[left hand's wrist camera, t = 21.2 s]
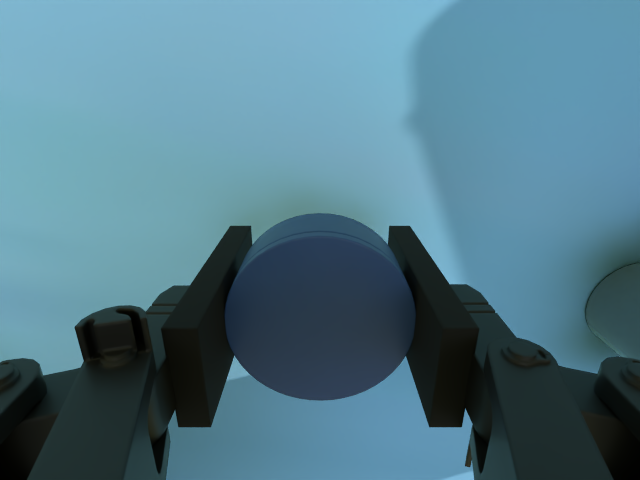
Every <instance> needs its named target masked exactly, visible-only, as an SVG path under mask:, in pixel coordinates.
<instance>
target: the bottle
mask: <svg viewBox="0 0 640 480" xmlns="http://www.w3.org/2000/svg"><path fill="white" fill-rule="evenodd" d="M586 320H587V323H588V326H589V328H590V329H591V331H592V332H593V333H594V334H595V335H596V336H597V337H598V338H600V339H601V340H602V341H603V342H604V343H605V344H607V345H608V346H609V347H610V348H611V349H612V350H614V351H615V352H616V353H617V354H618V355H620V356H621V357H625V358H633V359H638V360H640V263H636V264H632V265H628V266H625V267H623V268H621V269H618V270H616V271H615V272H613V273H611V274H610V275H609V276H607V277H606V278H605V279H604V280H603V281H601V282H600V284H599V285H598V286H597V287H596V288H595V290H594V291H593V292H592V294H591V296H590V298H589V300H588V303H587V307H586Z"/></svg>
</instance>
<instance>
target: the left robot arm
mask: <svg viewBox="0 0 640 480" xmlns="http://www.w3.org/2000/svg"><path fill="white" fill-rule="evenodd" d="M251 246H252V235H251V226H230V227H229V229H228V230H227V232H226V233H225V235H224V236H223V238H222V239H221V241H220V242H219V244H218V245H217V247H216V248H215V249H214V251H213V252H212V254H211V255H210V257H209V258H208V260H207V261H206V263H205V264H204V266H203V267H202V269H201V270H200V272H199V273H198V274H197V276H196V277H195V279H194V280H193V282H192V283H191V285H190V286H172V287H171V288H169V289H168V290H166V291H164V292H163V293H161V294H160V295H159V296H158V297H157V299H156V300H155V301H154V302H153V304H152V306H150V307H149V309H148V310H147V311H146V312H145V311H144V310H143V309H141V308H140V307H136V306H131V305H129V306H115V307H111V308H106V309H103V310H100V311H97V312H95V313H92V314H90V315H89V316H87V317H85V318H84V319H82V320H81V321H80V322H79V323H78V324H77V325H76V326H75V331H76V334H77V338H78V341H79V345H80V349H81V352H82V356H83V360H84V362H83V364H82V366H81V368H77V369H74V370H69V371H64V372H59V373H54V374H49V375H44V376H43V374H42V371H41V368H40V365H39V363H37V362H36V361H35V360H32V359H25V358H21V359H13V360H6V361H2V362H1V363H0V480H166V473H167V465H168V457H169V448H170V436H169V430H168V424H169V422H170V419H171V417H172V415H173V413H174V411H176V416H177V422H178V427H211V425H212V422H213V419H214V416H215V413H216V410H217V407H218V404H219V401H220V398H221V394H222V391H223V388H224V385H225V382H226V379H227V376H228V373H229V370H230V367H231V364H232V361H233V358H234V353H233V351H232V349H231V348H230V345H229V342H228V339H227V336H226V327H225V317H224V312H225V304H226V300H227V297H228V293H229V291H230V289H231V287H232V284H233V282H234V280H235V278H236V276H237V273H238V271H239V269H240V267H241V265H242V262H243V260H244V258H245V256H246V254H247V253H248V251H249V249H250V248H251ZM388 246H389V247H390V249H391V250H392V252H393V253H394V255H395V257H396V259H397V262H398V264H399V266H400V268H401V270H402V272H403V274H404V277H405V279H406V281H407V283H408V285H409V287H410V290H411V292H412V295H413V298H414V302H415V308H416V320H415V330H414V337H413V340H412V344H411V346H410V348H409V350H408V352H407V354H406V357H407V360H408V363H409V366H410V369H411V372H412V375H413V378H414V382H415V385H416V388H417V391H418V394H419V397H420V400H421V403H422V406H423V409H424V412H425V415H426V418H427V421H428V424H429V427H462V423H463V417H464V412H465V408H466V410H467V413H468V415H469V417H470V419H471V421H472V423H473V425H472V430H471V435H470V441H469V446H468V451H467V456H466V463H465V466H467V467H470V466H471V461H472V464H473V472H474V480H640V360H638V359H633V358H625V357H611V358H607V359H605V360H604V361H603V362H601V365H600V369H599V372H598V374H595V373H590V372H585V371H580V370H575V369H570V368H565V367H562V366H558V364H557V361H556V360H555V359H554V357H553V356H552V355H551V354H550V353H549V352H548V351H547V350H545V349H544V348H542V347H541V346H539V345H537V344H535V343H533V342H530V341H528V340H524V339H520V338H516V336H515V335H514V334H513V333H512V331H511V330H510V329H509V328H508V326H507V325H506V324H505V323H504V322H503V320H502V319H501V318H500V317H499V315H498V314H497V313H495V310H494V309H493V308H492V307H491V305H489V304H488V302H487V300H486V299H485V298H484V297H483V295H482V294H481V293H480V292H478V291H477V290H475V289H473V288H472V287H470V286H468V285H467V284H449V283H448V281H447V280H446V279H445V277H444V276H443V274H442V273H441V271H440V270H439V268H438V267H437V265H436V264H435V262H434V261H433V259H432V258H431V256H430V255H429V254H428V252H427V251H426V249H425V248H424V246H423V245H422V243H421V242H420V240H419V239H418V237H417V236H416V234H415V233H414V231H413V230H412V228H411V227H410V226H389V238H388Z"/></svg>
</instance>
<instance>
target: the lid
mask: <svg viewBox="0 0 640 480" xmlns="http://www.w3.org/2000/svg"><path fill="white" fill-rule="evenodd" d="M224 317H225V327H226V336H227V339H228V342H229V345H230V348H231V349H232V351H233V353H234V355H235V357H236V358H237V360H238V361H239V362H240V364H241V365H242V366H243V368H244V369H245V370H246V371H247V372H248V373H249V374H250V375H252V376H253V377H254V378H255V379H256V380H258V381H259V382H261V383H262V384H264V385H265V386H267V387H269V388H271V389H273V390H275V391H277V392H279V393H282V394H285V395H288V396H291V397H295V398H300V399H307V400H334V399H340V398H345V397H349V396H353V395H356V394H358V393H361V392H364V391H366V390H368V389H370V388H372V387H374V386H375V385H377V384H378V383H380V382H381V381H383V380H384V379H385V378H387V377H388V376H389V375H390V374H391V373H392V372H393V371H394V370H395V369H396V368H397V367H398V366H399V365H400V363H401V362H402V360H403V359H404V357H405V356H406V354H407V352H408V350H409V348H410V346H411V344H412V340H413V337H414V330H415V320H416V308H415V302H414V298H413V295H412V292H411V290H410V287H409V285H408V283H407V281H406V279H405V277H404V274H403V272H402V270H401V268H400V266H399V264H398V262H397V259H396V257H395V255H394V253H393V252H392V250H391V249H390V247H389V246H388V244H387V243H386V242H385V241H384V240H383V239H382V238H381V237H380V236H379V235H378V234H377V233H376V232H374V231H373V230H372V229H370V228H369V227H367V226H365V225H364V224H362V223H360V222H358V221H355V220H353V219H350V218H347V217H344V216H340V215H334V214H322V213H317V214H306V215H301V216H296V217H293V218H290V219H287V220H285V221H283V222H281V223H279V224H277V225H275V226H273V227H272V228H270V229H269V230H267V231H266V232H265V233H264V234H263V235H261V236H260V237H259V238H258V239H257V240H256V242H255V243H254V244H253V245H252V246H251V248H250V249H249V251H248V253H247V254H246V256H245V258H244V260H243V262H242V265H241V267H240V269H239V271H238V273H237V276H236V278H235V280H234V282H233V284H232V287H231V289H230V291H229V293H228V297H227V300H226V304H225V312H224Z"/></svg>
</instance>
